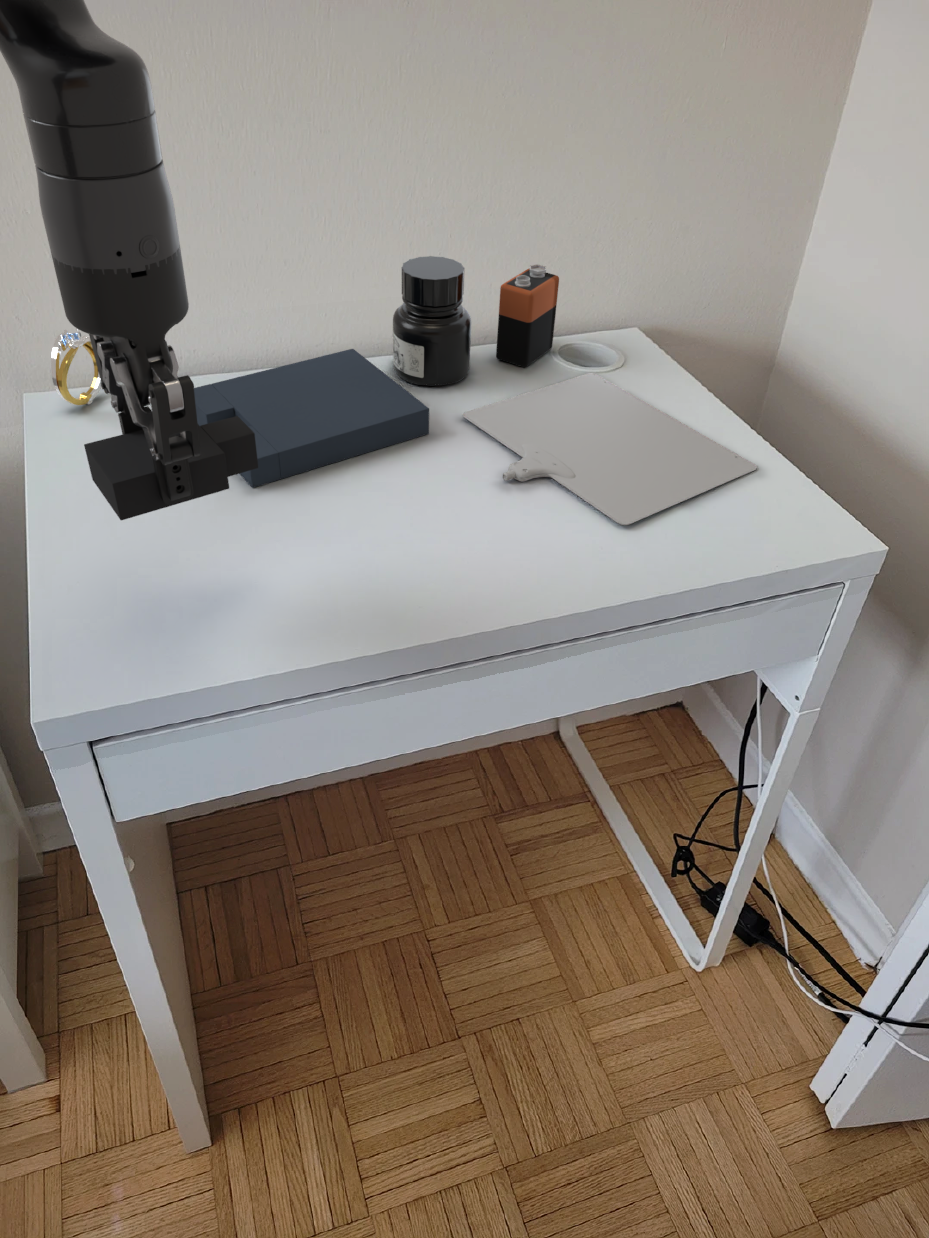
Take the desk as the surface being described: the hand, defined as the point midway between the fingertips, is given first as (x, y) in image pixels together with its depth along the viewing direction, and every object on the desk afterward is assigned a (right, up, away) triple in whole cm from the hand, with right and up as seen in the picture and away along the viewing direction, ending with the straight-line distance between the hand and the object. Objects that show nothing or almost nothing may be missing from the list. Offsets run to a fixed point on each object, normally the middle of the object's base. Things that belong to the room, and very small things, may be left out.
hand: (160, 476), depth 68 cm
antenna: (+35, +7, +30) cm, 47 cm away
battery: (+29, +21, +46) cm, 58 cm away
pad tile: (+1, 0, +1) cm, 2 cm away
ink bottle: (+18, +18, +42) cm, 49 cm away
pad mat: (+6, +10, +31) cm, 33 cm away
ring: (-18, +13, +33) cm, 40 cm away
